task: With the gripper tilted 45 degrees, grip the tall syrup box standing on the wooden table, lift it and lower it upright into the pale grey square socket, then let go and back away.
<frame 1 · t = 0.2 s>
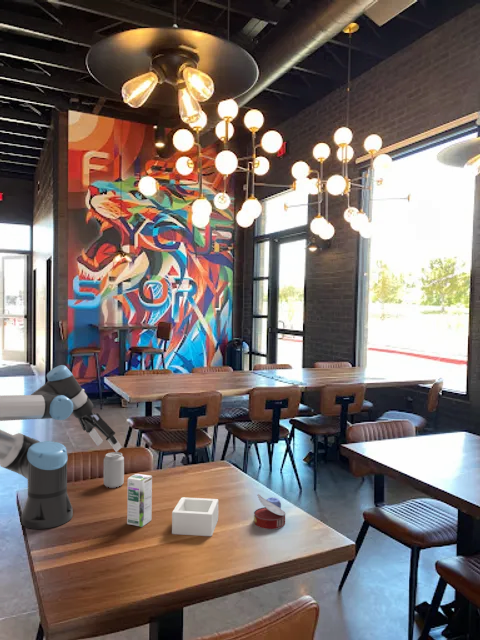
hand: (109, 446, 185), 15 cm above the table, tool tilted 35°, fingers open, 13 cm apart
canned food: (269, 523, 155), on the table
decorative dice: (272, 512, 164), on the table
can: (113, 485, 187), on the table
syrup box: (139, 522, 154), on the table
socket: (195, 526, 152), on the table
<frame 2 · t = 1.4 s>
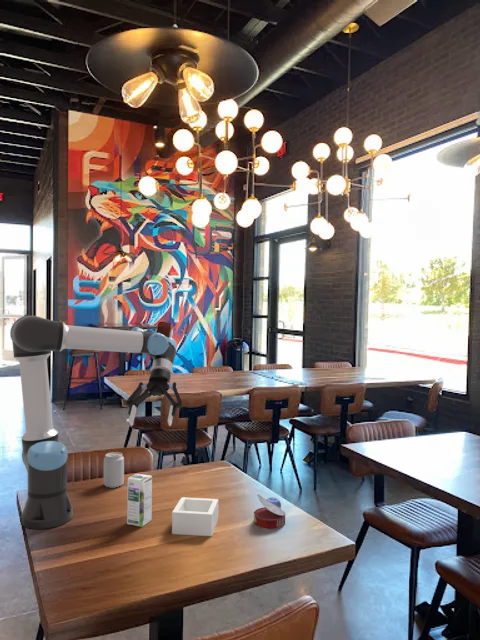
hand: (149, 423, 167), 28 cm above the table, tool tilted 45°, fingers open, 13 cm apart
nothing on the table moved.
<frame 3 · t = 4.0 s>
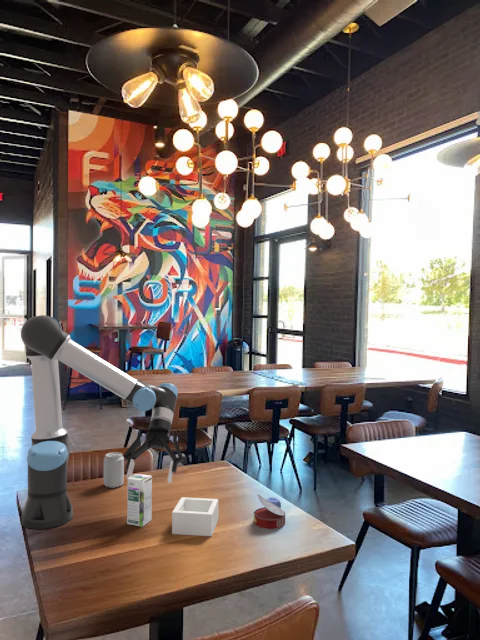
hand: (148, 480, 159), 12 cm above the table, tool tilted 45°, fingers open, 13 cm apart
nothing on the table moved.
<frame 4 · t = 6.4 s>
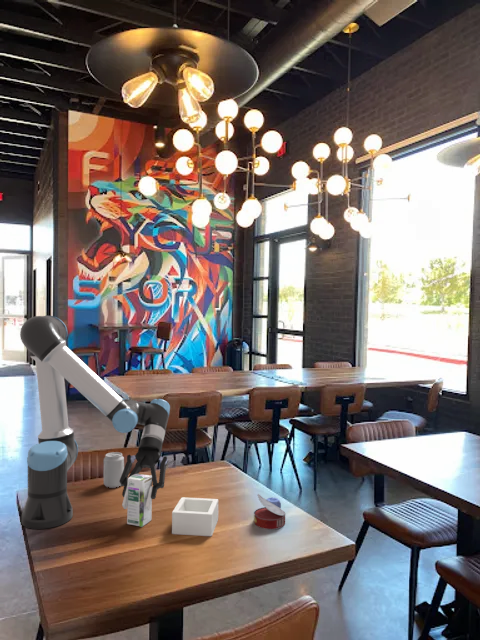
hand: (135, 507, 151), 6 cm above the table, tool tilted 45°, fingers closed on syrup box, 7 cm apart
syrup box: (139, 522, 154), on the table, touching gripper
everything else where it was.
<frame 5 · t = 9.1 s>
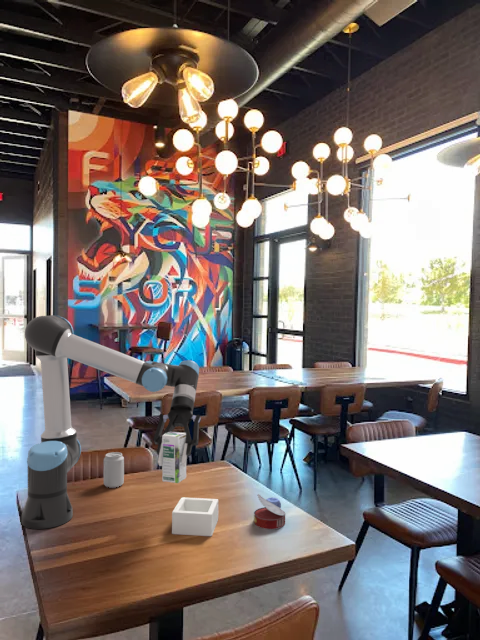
hand: (171, 464, 149), 20 cm above the table, tool tilted 45°, fingers closed on syrup box, 7 cm apart
syrup box: (174, 480, 153), point 14 cm above the table, touching gripper
everything else where it was.
when the fingers open (9 cm above the table, at t = 12.2 s): syrup box drops 2 cm, resting on socket.
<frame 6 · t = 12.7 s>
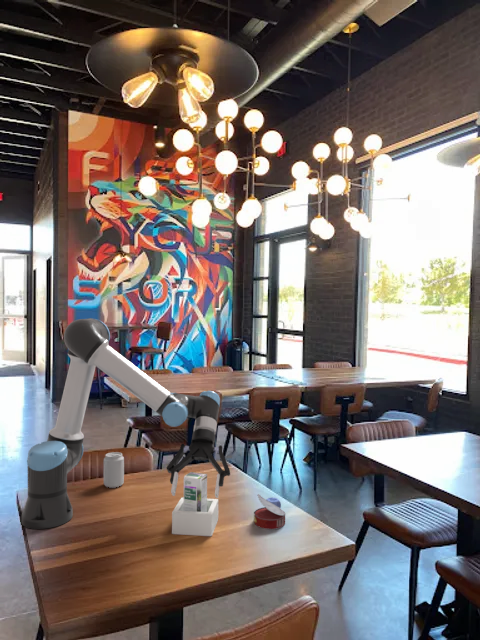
hand: (194, 494, 149), 11 cm above the table, tool tilted 45°, fingers open, 13 cm apart
syrup box: (195, 522, 152), point 1 cm above the table, touching socket
everything else where it was.
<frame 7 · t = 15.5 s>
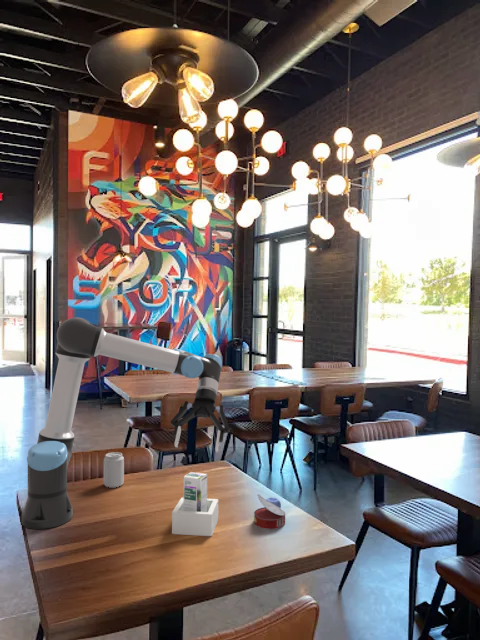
hand: (196, 448, 162), 21 cm above the table, tool tilted 40°, fingers open, 13 cm apart
nothing on the table moved.
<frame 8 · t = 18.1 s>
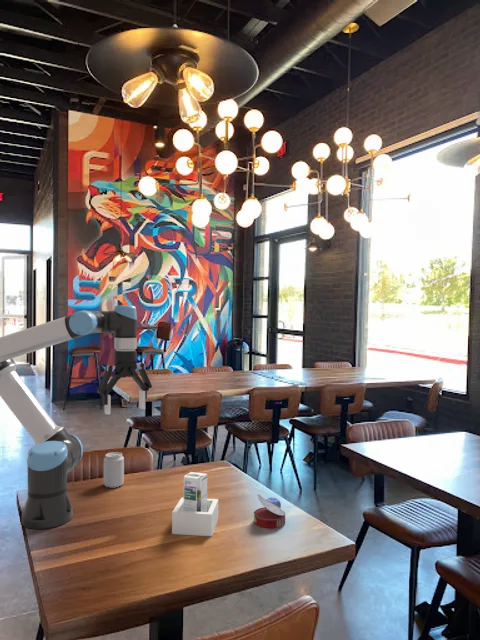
hand: (125, 411, 169), 32 cm above the table, tool pointing down, fingers open, 13 cm apart
nothing on the table moved.
at the end: syrup box 0.3 cm off-centre on the socket, point 1.3 cm above the socket's base; syrup box tilted 0°; the gripper is holding nothing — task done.
